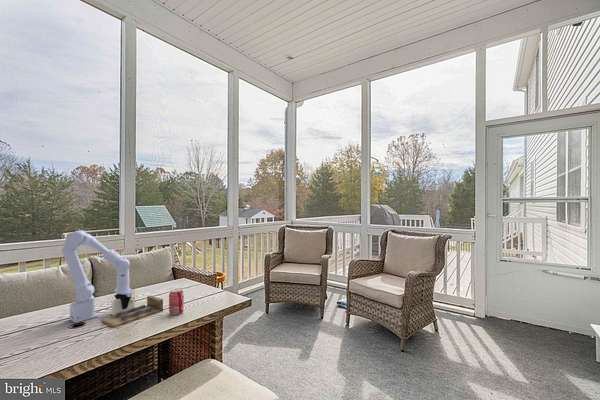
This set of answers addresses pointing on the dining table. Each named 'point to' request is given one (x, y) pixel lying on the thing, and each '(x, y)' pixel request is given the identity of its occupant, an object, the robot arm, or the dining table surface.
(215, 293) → the dining table surface
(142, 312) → the board
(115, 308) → the door panel
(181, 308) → the soda can
